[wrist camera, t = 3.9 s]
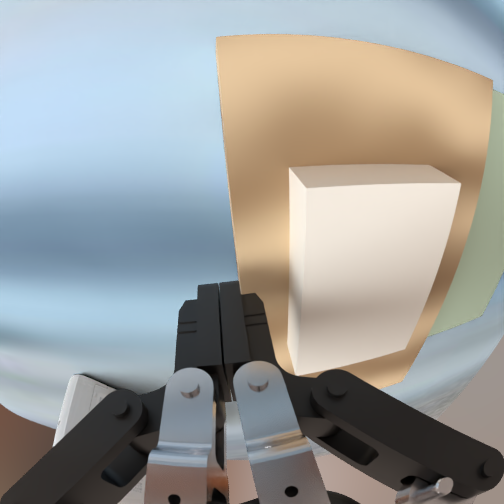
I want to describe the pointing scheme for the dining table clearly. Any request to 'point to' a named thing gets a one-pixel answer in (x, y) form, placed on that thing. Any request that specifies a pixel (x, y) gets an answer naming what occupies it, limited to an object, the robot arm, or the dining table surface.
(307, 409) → the robot arm
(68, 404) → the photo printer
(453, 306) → the sage mat
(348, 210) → the cream tile
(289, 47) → the board
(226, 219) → the dining table surface
